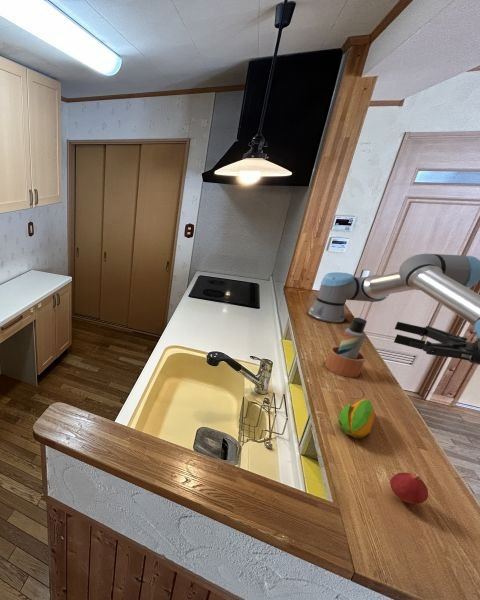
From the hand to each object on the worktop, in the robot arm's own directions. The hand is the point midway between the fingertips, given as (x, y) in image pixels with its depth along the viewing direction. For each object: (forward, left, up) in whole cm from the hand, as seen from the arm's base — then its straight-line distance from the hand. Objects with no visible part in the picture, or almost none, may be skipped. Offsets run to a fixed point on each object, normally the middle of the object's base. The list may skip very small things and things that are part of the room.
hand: (395, 331), depth 108 cm
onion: (+22, +53, -20) cm, 61 cm away
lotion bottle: (+9, -5, -19) cm, 21 cm away
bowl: (+9, -5, -19) cm, 22 cm away
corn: (+19, +28, -20) cm, 40 cm away
